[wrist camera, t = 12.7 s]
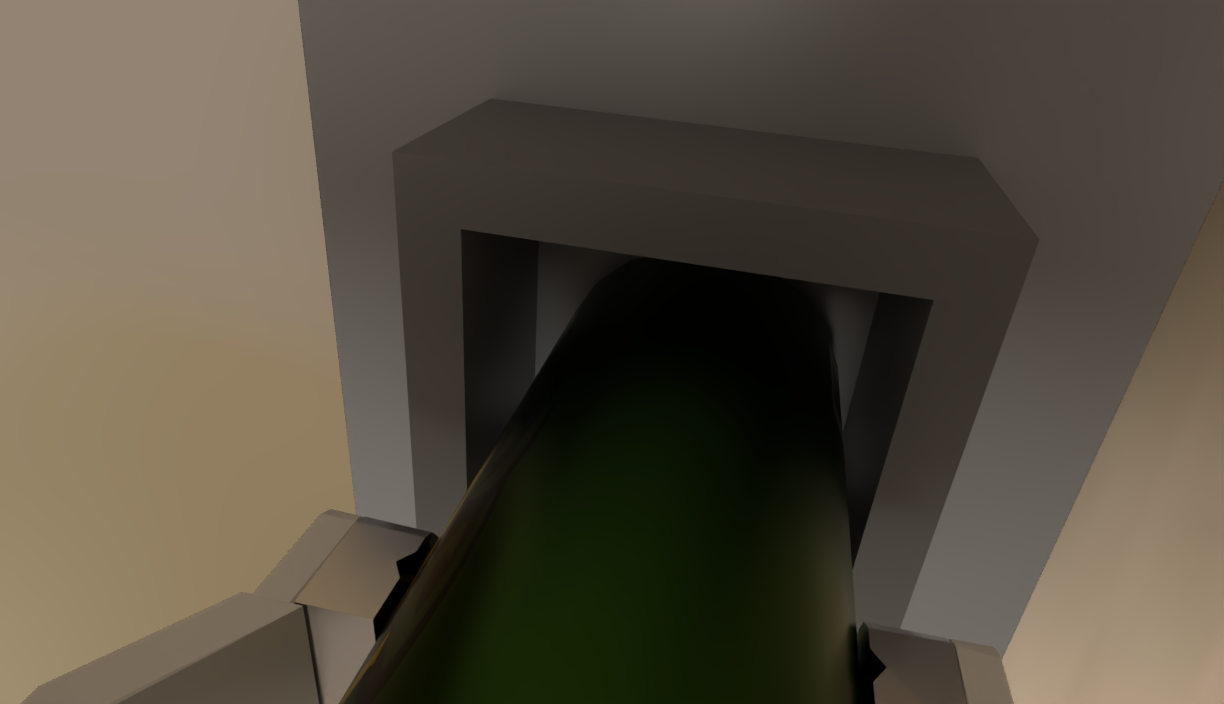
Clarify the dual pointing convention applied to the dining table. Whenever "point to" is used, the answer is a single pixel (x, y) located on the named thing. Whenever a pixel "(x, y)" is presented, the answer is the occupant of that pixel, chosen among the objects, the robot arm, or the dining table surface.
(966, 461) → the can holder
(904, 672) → the robot arm
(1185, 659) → the dining table surface
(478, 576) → the beer can
